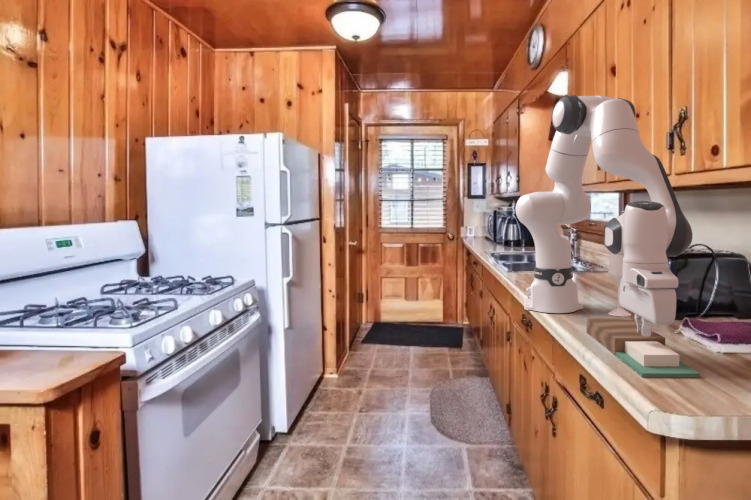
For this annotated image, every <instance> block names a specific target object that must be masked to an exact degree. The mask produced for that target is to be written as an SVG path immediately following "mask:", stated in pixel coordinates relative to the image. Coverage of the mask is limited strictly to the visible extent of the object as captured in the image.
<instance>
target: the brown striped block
mask: <svg viewBox="0 0 751 500" xmlns="http://www.w3.org/2000/svg"><path fill="white" fill-rule="evenodd" d="M586 333H587V334H588V335H589V336H591V337H592V338H593V339H595V341H597V342H598V343H600V345H602V346H603V347H605V349H607V350H608V351H610V353H611V354H613V355H614V356H616V352H625V341H657V342H659V343H661V344H662V345H664V346H666V337H665V336H663V335H661V334H659V333H657V332H656V331H654V330H653V329H651V336H649V337H644V336H642V335H641V334H639V333H637V325H636V321H635V319H633V318H631V317H630V316H623V317H622V316H616V317H586Z"/></svg>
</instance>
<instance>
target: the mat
mask: <svg viewBox="0 0 751 500" xmlns="http://www.w3.org/2000/svg"><path fill="white" fill-rule="evenodd" d="M615 356H616V357H617V359H619V360H620V359H621V360H620V361H622V362H623V363H624V362H625V363H626V364H627V366H628V367H629V368H630V367H631V368H632V370H633V371H634V372H635V371H636V372H637V373H636V372H635V373H636V374H637V375H639V376H640V377H641V378H701V373H700V372H699V371H697V370H695V369H694V368H693V367H691V366H689V365H688V364H686V363H684V362H683V361H681V360H679V366H643V365H641V364H640V363H639V362H637V361H636V360H635V359H633V358H632V357H631V356H629V355H628V354H627V353H625V352H616V355H615ZM625 363H624V364H625ZM626 364H625V365H626ZM631 368H630V369H631Z"/></svg>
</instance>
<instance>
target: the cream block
mask: <svg viewBox="0 0 751 500" xmlns="http://www.w3.org/2000/svg"><path fill="white" fill-rule="evenodd" d="M625 353H627V354H628V355H629V356H631V357H632V358H633V359H635V360H636V361H637V362H639V363H640V364H641V365H643V366H679V361H680V354H679V353H677V352H676V351H674V350H673V349H671V348H669V347H667V346H666V345H665V346H664V345H662V344H661V343H659V342H657V341H625Z"/></svg>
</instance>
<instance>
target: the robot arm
mask: <svg viewBox="0 0 751 500" xmlns="http://www.w3.org/2000/svg"><path fill="white" fill-rule="evenodd" d="M552 110H553V111H552V115H551V116H552V117H551V121H552V123H551V124H552V126H553V128H554V130H555V133H554V136H553V138H552V142H551V145H550V148H549V153H548V156H547V160H546V165H545V173H546V176H547V177H548V178H549V179H550V180H551V181H552V182H554V183H553V184H554V187H553V190H552V191H551V190H550V191H533V192H531V193H530V192H529V193H527V194H524V195H521V196H520V197H519V198H518V200H517V201H516V204H515V215H516V217H517V219H518V221H519V222H520V223H521V224H523V226H525V227H526V228H527V230H528V231H529V232H530V233H529V234H531V236H532V239H533V243H534V252H535V266H534V270H533V273H534V274H533V277H534V279H533V280H532V283H531V284H530V286H528V287H526V288H525V295H528V296H527V297H526V298H524V301H523V302H524V303H523V304H524V305H523V309H524V310H527V311H534V312H540V313H549V314H568V313H573V312H576V311H580V310H584V306H583V304H580V303H579V291H578V284H577V282H576V281H574V280H573V278H574V268H573V266H572V244H571V242H570V241H569V240H568V239H567V238H565V237H563V236H562V235H561V233H560V232H559V228H558V225H573V224H576V223H580V222H583V221H585V220H586V219H587V218H589V215H590V213H591V210H592V203H591V200H590V198H589V196H588V195H587V194H586V193H585V191H584V189H583V174H584V169H585V166H586V163H587V159H588V155H589V152H590V148H591V147H592V148H591V149H592V154H593V158H594V161H595V163H596V165H597V166H598V168H600V169H601V170H603V171H604V172H605V173H608V174H610V175H612V176H616V177H620V178H623V179H628V180H630V181H633V182H635V183H637V184H640V185H641V186H643V187H644V188H645V189H646V191H647V193H648V195H649V198H650V201H646V200H642V201H639V200H638V201H633V202H630V203H628V204H626V205H625V207H624V212H623V213H621V214H620V215H619V216H615V217H612V218H611V219H610V220H609V221H608V222H607V223H606V224H605V225H604V229H603V245H604V247H605V248H606V249H607V250H608V252H609V253H610V252H611V253H613V254H616V255H620V256H624V257H623V273H622V279H621V281H620V290H619V303H620V306H621V307H622V309H624V310H625V309H626V311H628V312H630V313H633V315H634V317H633V318H634V320H635V321H636V325H637V333H639V334H641V335H642V336H644V337H649V336H651V330H652V328H653V326H654V325H657V326H659V325H660V326H672V324H674V321H675V320H676V314H677V293H676V289H677V288H679V278H678V277H677V276H676V275H675V274H674V273H673V272H672V270H671V269H670V268H669V267H668V263H669V260H668V257H670V258H671V257H672V258H675V257H679V256H680V255H681V254H683V253H684V252H685V251H686V250H688V248H689V247H690V246H691V244H692V242H693V230H692V226H691V224H690V222H689V220H688V219H687V217H686V216H685V214H684V213H683V210H682V208H681V206H680V204H679V202H678V198H677V196H676V194H675V191H674V189H673V186H672V184H671V182H670V179H669V177H668V174H667V172H666V169H665V167H664V165H663V163H662V161H661V159H660V158H659V157H658V156H657V155H655V154H652V152H651V151H650V150H648V149H647V148H646V146H645V145H644V143H643V142H642V139H641V136H640V131H639V126H638V123H637V120H636V113H637V112H636V108H635V105H634V104H633V102H632V101H630V100H627V99H625V98H622V97H621V98H620V97H617V98H616V97H611V96H605V95H576V94H575V95H573V94H572V95H567V96H563V97H561V98H560V99H559V100H558V101H556V103H555V105H554V107H553V109H552Z"/></svg>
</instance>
